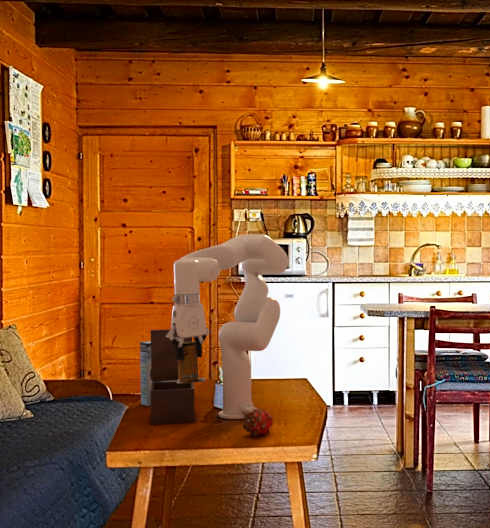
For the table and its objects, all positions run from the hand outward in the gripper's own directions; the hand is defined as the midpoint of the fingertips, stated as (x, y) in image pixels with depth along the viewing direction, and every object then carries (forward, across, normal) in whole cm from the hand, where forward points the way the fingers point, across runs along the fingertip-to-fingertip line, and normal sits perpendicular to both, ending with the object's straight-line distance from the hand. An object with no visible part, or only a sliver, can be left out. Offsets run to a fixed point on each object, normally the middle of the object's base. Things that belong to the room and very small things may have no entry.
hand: (189, 357), depth 258 cm
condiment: (+7, +1, 0) cm, 7 cm away
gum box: (+24, +25, +48) cm, 59 cm away
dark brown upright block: (+3, +14, +28) cm, 31 cm away
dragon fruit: (+23, +11, -19) cm, 32 cm away
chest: (+23, +9, +22) cm, 33 cm away
